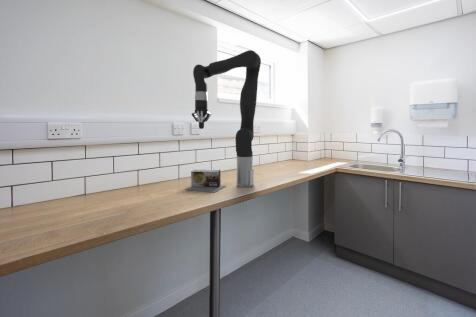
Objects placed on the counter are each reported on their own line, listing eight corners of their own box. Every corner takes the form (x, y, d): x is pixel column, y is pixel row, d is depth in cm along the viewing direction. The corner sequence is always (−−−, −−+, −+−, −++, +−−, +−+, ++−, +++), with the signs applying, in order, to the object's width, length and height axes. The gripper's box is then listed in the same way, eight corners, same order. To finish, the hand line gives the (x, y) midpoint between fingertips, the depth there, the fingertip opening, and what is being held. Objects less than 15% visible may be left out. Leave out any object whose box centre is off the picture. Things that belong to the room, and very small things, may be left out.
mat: (226, 186, 151) (226, 185, 151) (214, 192, 137) (214, 192, 137) (199, 184, 158) (199, 183, 157) (185, 189, 144) (185, 189, 144)
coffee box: (193, 184, 155) (220, 185, 154) (191, 186, 149) (219, 187, 148) (193, 169, 154) (220, 169, 153) (190, 171, 148) (219, 171, 147)
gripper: (213, 100, 160) (213, 128, 162) (194, 100, 164) (194, 128, 166) (208, 99, 153) (208, 129, 155) (188, 99, 157) (188, 128, 159)
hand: (201, 128), depth 161 cm, fingers closed
